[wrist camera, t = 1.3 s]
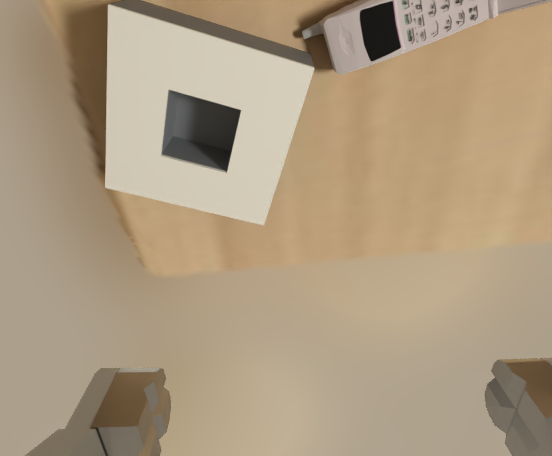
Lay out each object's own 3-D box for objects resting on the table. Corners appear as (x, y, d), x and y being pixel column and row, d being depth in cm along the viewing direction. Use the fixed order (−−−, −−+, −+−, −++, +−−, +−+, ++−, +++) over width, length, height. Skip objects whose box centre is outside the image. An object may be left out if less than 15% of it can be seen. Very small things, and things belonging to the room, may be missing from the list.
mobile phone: (618, -15, 30) (321, 96, 36) (572, -18, 35) (317, 81, 41) (629, -108, 27) (301, 30, 32) (576, -97, 32) (298, 22, 37)
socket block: (133, -3, 36) (108, 4, 31) (310, 53, 39) (314, 68, 34) (125, 161, 46) (105, 187, 41) (265, 196, 49) (263, 225, 44)
